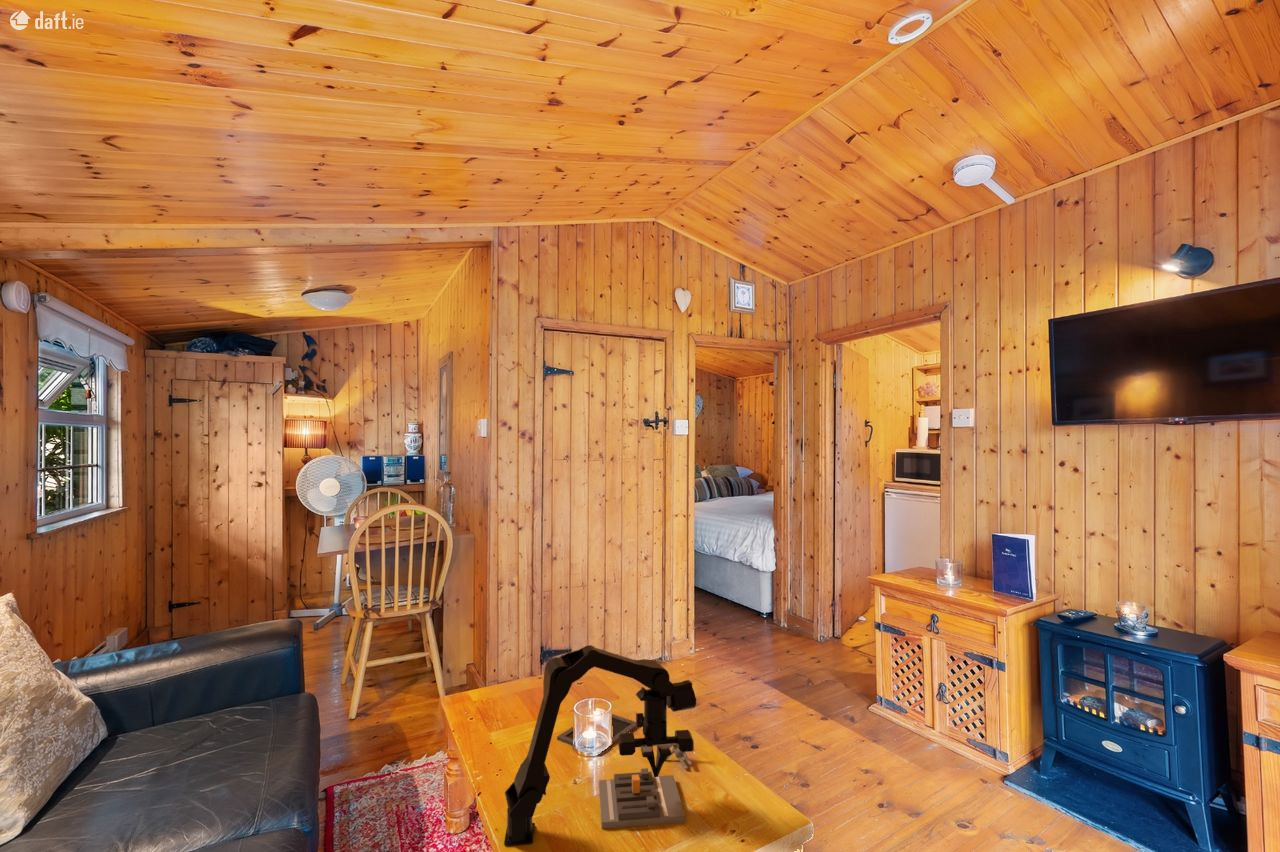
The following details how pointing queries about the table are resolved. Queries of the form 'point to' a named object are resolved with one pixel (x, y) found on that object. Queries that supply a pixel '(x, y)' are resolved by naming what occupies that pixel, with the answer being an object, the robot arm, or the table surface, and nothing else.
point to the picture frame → (619, 727)
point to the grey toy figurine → (680, 756)
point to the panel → (642, 822)
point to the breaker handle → (635, 784)
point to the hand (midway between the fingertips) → (655, 776)
